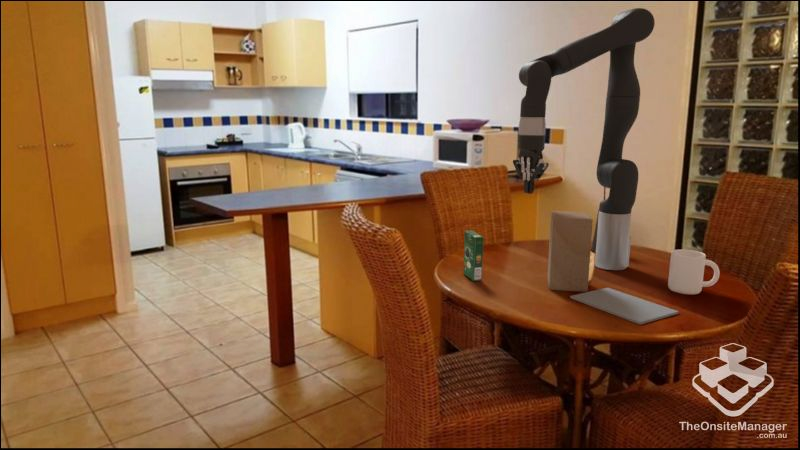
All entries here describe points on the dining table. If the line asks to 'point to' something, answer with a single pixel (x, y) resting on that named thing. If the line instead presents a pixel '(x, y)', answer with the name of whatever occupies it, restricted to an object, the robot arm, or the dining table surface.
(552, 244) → the wooden block
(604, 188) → the butter churn
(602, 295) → the slate mat
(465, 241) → the coffee box
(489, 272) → the dining table surface
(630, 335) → the dining table surface
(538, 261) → the dining table surface
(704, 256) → the mug
